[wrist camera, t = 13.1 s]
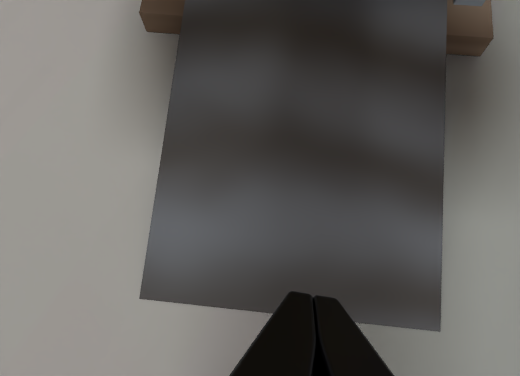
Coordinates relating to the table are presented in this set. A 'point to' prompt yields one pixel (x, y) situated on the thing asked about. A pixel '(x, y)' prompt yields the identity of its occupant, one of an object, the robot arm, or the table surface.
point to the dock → (307, 153)
